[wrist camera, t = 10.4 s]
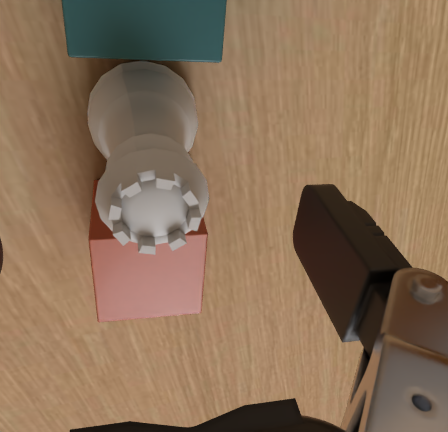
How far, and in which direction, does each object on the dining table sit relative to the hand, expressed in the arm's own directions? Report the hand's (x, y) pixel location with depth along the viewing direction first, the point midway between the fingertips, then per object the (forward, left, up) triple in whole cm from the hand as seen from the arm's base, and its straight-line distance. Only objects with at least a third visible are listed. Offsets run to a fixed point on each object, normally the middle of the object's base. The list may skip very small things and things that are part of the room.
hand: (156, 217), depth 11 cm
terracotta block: (+6, 0, -8) cm, 10 cm away
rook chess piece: (0, 0, -9) cm, 9 cm away
